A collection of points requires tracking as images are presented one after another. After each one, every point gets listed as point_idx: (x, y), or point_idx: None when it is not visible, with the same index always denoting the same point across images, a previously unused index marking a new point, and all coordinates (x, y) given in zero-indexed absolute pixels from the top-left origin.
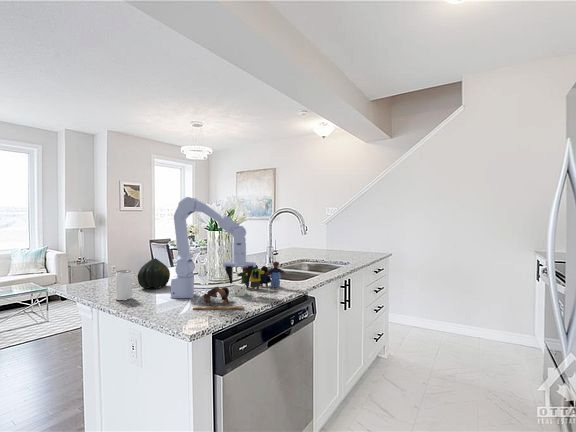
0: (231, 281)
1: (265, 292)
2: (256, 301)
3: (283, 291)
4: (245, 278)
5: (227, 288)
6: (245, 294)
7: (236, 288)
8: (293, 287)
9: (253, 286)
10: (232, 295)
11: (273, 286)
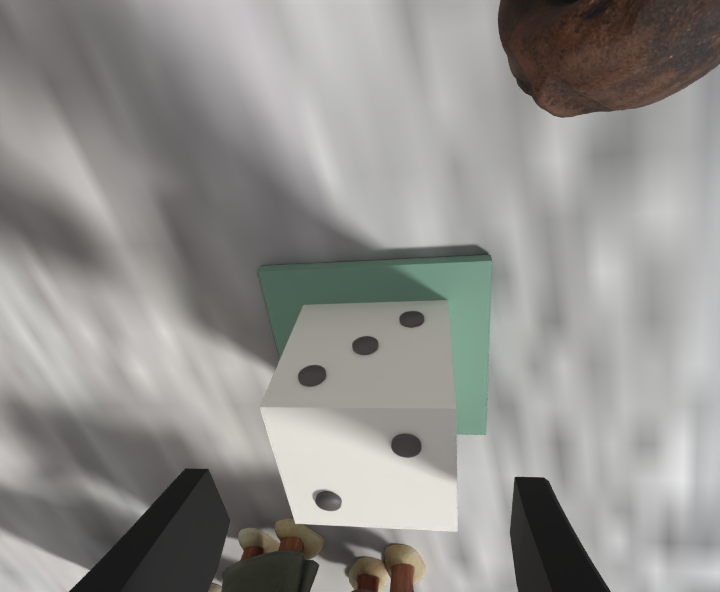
0: (523, 516)
1: (144, 461)
2: (32, 73)
3: (6, 483)
4: None
5: (572, 35)
6: None
7: (401, 372)
8: (6, 569)
9: (279, 562)
10: (471, 324)
11: None
